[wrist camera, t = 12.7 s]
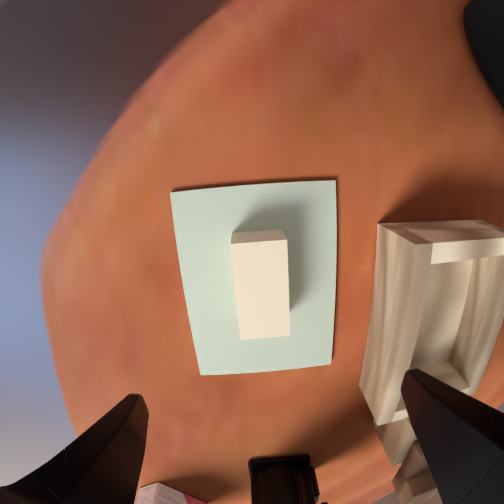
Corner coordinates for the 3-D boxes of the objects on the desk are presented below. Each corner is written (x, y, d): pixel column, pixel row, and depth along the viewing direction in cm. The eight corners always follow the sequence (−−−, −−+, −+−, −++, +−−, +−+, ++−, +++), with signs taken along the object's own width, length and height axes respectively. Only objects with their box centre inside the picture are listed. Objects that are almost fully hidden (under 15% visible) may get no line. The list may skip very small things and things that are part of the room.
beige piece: (349, 426, 25) (365, 473, 19) (377, 223, 19) (425, 250, 13) (432, 404, 25) (456, 441, 19) (479, 219, 19) (531, 240, 13)
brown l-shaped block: (391, 481, 20) (403, 509, 16) (413, 442, 18) (430, 475, 14) (417, 472, 20) (430, 498, 16) (442, 432, 18) (460, 462, 14)
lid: (202, 367, 22) (197, 397, 19) (173, 190, 18) (159, 198, 15) (327, 356, 23) (339, 384, 19) (331, 179, 18) (349, 183, 15)
